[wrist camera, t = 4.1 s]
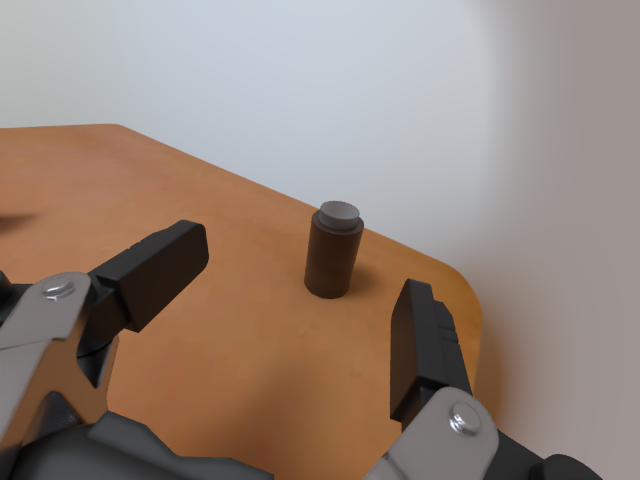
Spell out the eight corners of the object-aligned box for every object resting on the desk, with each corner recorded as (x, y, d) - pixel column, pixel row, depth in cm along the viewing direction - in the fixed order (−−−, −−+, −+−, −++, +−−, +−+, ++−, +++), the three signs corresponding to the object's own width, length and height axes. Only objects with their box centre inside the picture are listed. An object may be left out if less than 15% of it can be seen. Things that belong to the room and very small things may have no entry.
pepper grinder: (348, 271, 27) (365, 202, 22) (348, 302, 23) (368, 226, 19) (307, 264, 27) (316, 194, 22) (300, 294, 23) (309, 217, 19)
